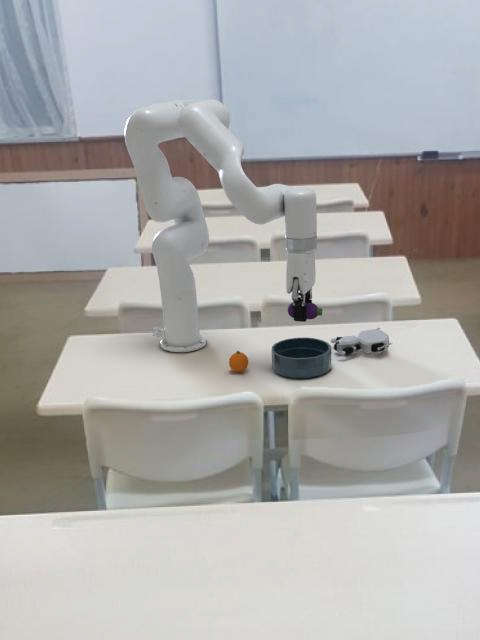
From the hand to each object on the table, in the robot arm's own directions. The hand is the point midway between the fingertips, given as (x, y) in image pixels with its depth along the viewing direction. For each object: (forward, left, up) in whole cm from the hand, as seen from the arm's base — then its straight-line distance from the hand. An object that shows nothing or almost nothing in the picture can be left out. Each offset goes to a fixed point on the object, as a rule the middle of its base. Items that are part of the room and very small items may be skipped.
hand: (303, 317), depth 213 cm
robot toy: (+12, +14, -13) cm, 22 cm away
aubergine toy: (0, 0, 0) cm, 0 cm away
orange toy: (-15, -7, -13) cm, 21 cm away
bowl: (0, -1, -13) cm, 13 cm away
